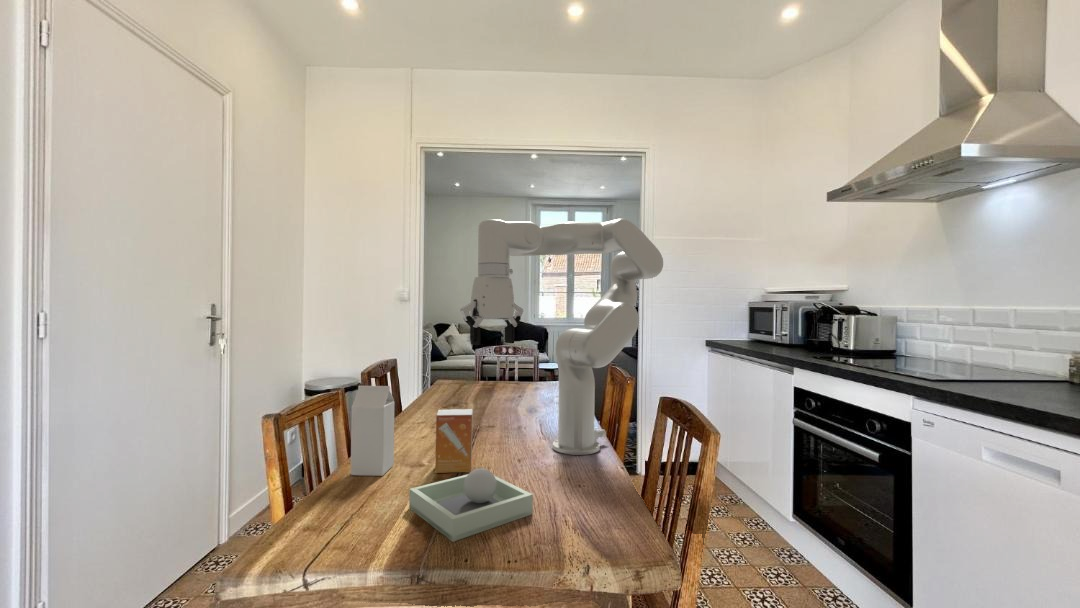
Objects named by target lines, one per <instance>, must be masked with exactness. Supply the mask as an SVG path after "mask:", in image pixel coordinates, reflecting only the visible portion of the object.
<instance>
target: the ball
mask: <svg viewBox="0 0 1080 608" xmlns="http://www.w3.org/2000/svg"><path fill="white" fill-rule="evenodd" d="M467 474H468V475H467ZM467 474H466V475H467V477H466V479H465V481H464V492H465V494H466V496H467V498H468V499H469V500H471V501H472V502H474V503H485V502H487V501H489V500H490V499H491V498H492V497H493V496H494V494H495V492H496V488H497V482H496V478H495V476H496V475H494V473H493V472H492V471H490V470H489V469H487V468H483V467H480V468H475V469H473V470H471V472H468V473H467Z"/></svg>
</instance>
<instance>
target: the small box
mask: <svg viewBox="0 0 1080 608" xmlns="http://www.w3.org/2000/svg"><path fill="white" fill-rule="evenodd" d="M473 413H474V412H473V408H467V409H466V408H465V409H464V408H453V409H438V411H437V413H436V416H435V417H436V421H435V462H434V464H435V467H434V468H435V469H434V471H435V474H439V473H443V474H444V473H445V474H446V473H470V472H471V471H472V461H473V458H472V457H473V418H474V417H473Z"/></svg>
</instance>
